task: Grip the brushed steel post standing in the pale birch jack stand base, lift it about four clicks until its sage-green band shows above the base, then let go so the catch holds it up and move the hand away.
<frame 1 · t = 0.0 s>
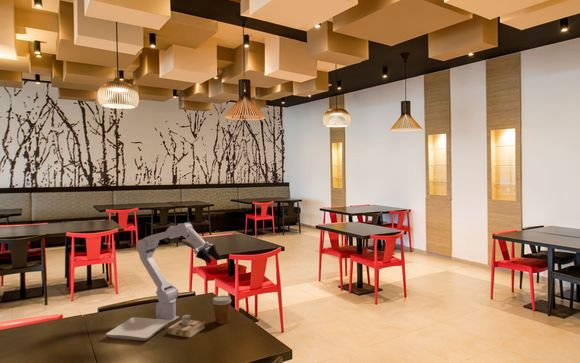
hand: (214, 260, 191), 32 cm above the table, tool tilted 50°, fingers open, 7 cm apart
jack base: (186, 331, 186), on the table
salad plate: (139, 333, 184), on the table
post: (186, 323, 186), point 4 cm above the table, slide at 0.0 cm
disposable coffee cup: (222, 322, 197), on the table
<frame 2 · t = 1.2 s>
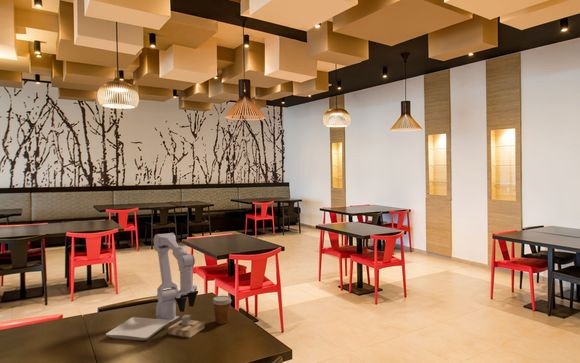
hand: (186, 308, 185), 11 cm above the table, tool pointing down, fingers open, 7 cm apart
nothing on the table moved.
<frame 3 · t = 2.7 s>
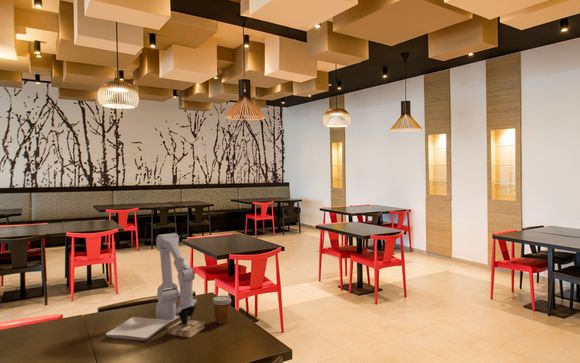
hand: (186, 322, 186), 4 cm above the table, tool pointing down, fingers closed on post, 3 cm apart
post: (186, 323, 186), point 4 cm above the table, slide at 0.0 cm, touching gripper
everything else where it was.
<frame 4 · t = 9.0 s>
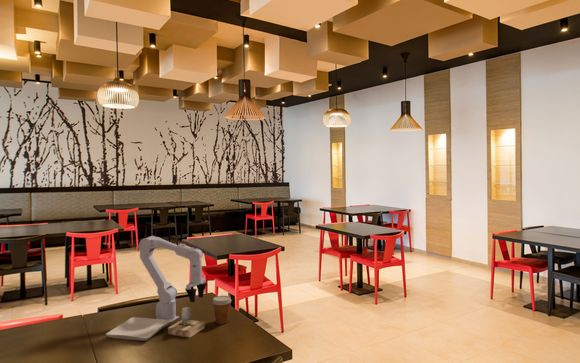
hand: (196, 299, 200), 10 cm above the table, tool pointing down, fingers open, 7 cm apart
post: (186, 315, 186), point 7 cm above the table, slide at 3.7 cm
everything else where it was.
at the end: post slide at 3.7 cm; the gripper is holding nothing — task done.
